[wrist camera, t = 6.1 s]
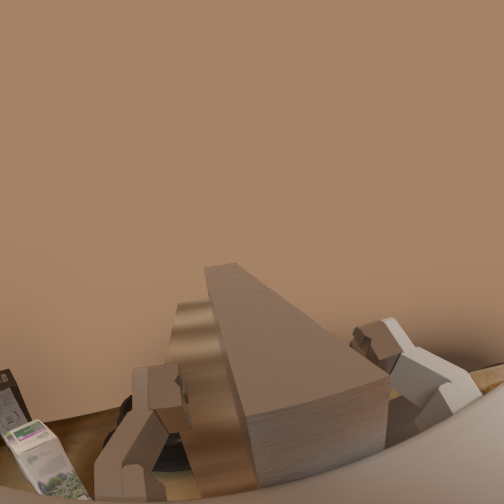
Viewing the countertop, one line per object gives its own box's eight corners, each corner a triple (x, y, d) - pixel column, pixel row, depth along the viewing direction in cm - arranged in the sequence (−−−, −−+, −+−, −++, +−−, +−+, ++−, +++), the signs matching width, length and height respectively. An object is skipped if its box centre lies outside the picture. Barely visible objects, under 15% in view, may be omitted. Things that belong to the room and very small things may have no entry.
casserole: (112, 496, 29) (89, 453, 29) (103, 430, 46) (89, 392, 45) (275, 448, 40) (268, 404, 40) (227, 399, 57) (219, 362, 56)
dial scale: (322, 575, 16) (325, 498, 15) (365, 482, 29) (372, 387, 28) (470, 580, 9) (541, 491, 7) (478, 481, 22) (511, 381, 20)
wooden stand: (335, 564, 17) (342, 340, 15) (244, 586, 16) (162, 375, 14) (292, 476, 33) (270, 288, 31) (224, 490, 32) (178, 303, 29)
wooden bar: (381, 471, 6) (389, 375, 6) (264, 509, 5) (245, 415, 5) (239, 293, 30) (235, 262, 30) (209, 298, 30) (204, 267, 30)
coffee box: (59, 470, 33) (18, 384, 31) (28, 483, 28) (-18, 395, 26) (43, 446, 38) (9, 367, 37) (15, 456, 33) (-22, 376, 32)
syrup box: (81, 497, 28) (37, 415, 27) (105, 517, 25) (56, 433, 24) (52, 513, 23) (0, 431, 22) (74, 537, 20) (15, 453, 19)
